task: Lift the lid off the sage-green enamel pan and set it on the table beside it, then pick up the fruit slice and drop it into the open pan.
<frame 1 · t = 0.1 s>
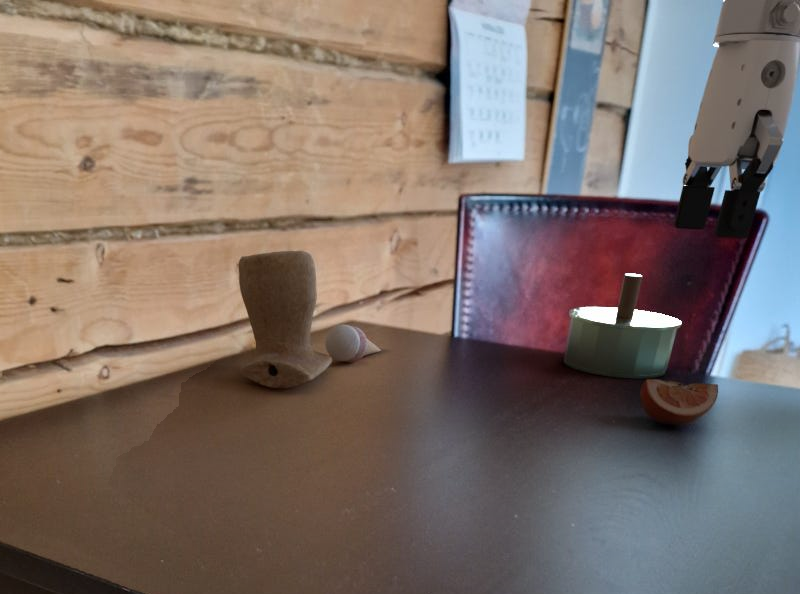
hand: (708, 232, 87), 20 cm above the table, tool pointing down, fingers open, 9 cm apart
pan: (613, 366, 125), on the table
lid: (623, 320, 122), point 6 cm above the table, touching pan
ice cream cone: (353, 360, 121), on the table
fruit slice: (671, 426, 99), on the table
brown flared upright piece: (280, 379, 109), on the table
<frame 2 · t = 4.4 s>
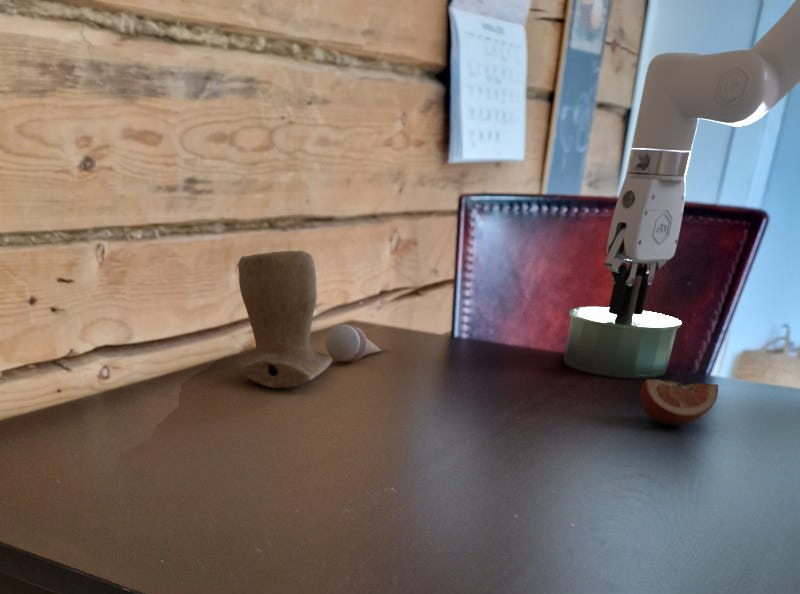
hand: (625, 313, 122), 7 cm above the table, tool pointing down, fingers closed on lid, 2 cm apart
lid: (623, 320, 122), point 7 cm above the table, touching gripper, pan
everything else where it was.
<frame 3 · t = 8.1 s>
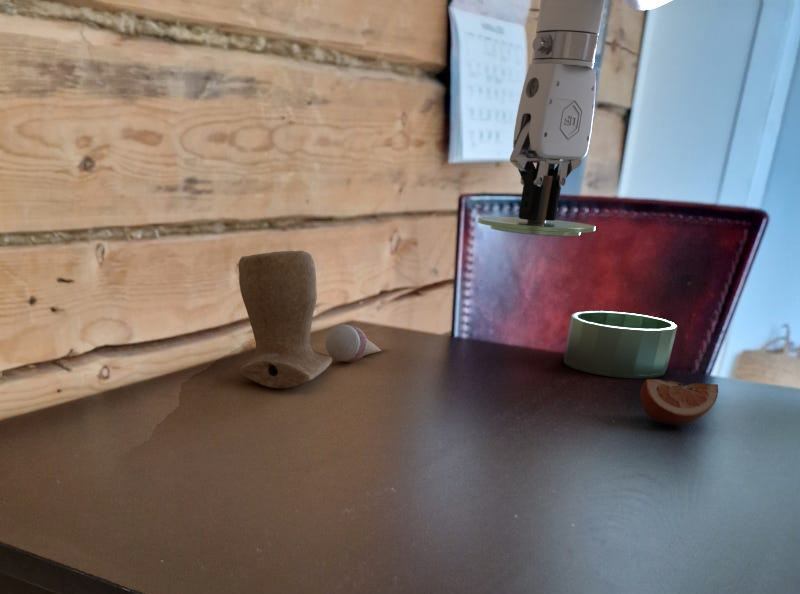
hand: (537, 218, 114), 19 cm above the table, tool pointing down, fingers closed on lid, 2 cm apart
lid: (535, 226, 115), point 18 cm above the table, touching gripper
everything else where it was.
when the fingers open (2 cm above the table, at t = 12.0 s): lid stays where it is, point 1 cm above the table.
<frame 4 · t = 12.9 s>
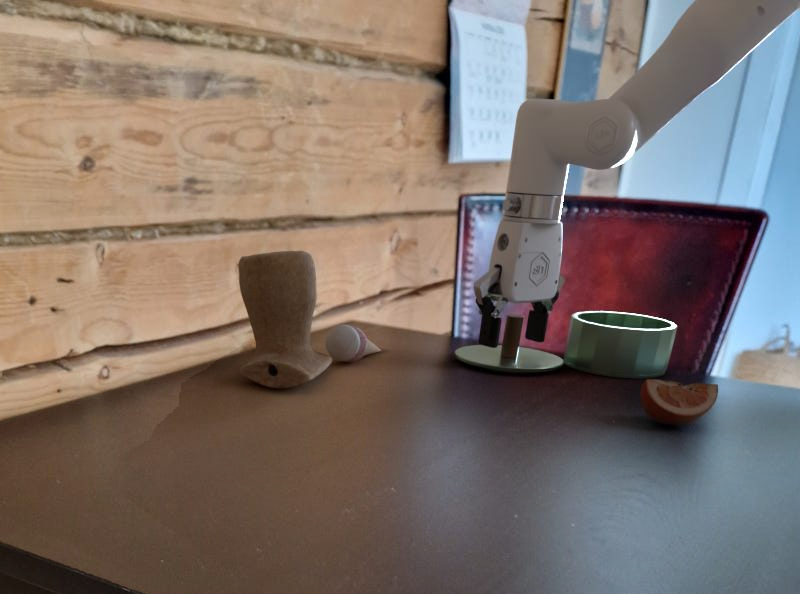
hand: (511, 343, 122), 3 cm above the table, tool pointing down, fingers open, 9 cm apart
lid: (508, 359, 123), point 1 cm above the table
everything else where it was.
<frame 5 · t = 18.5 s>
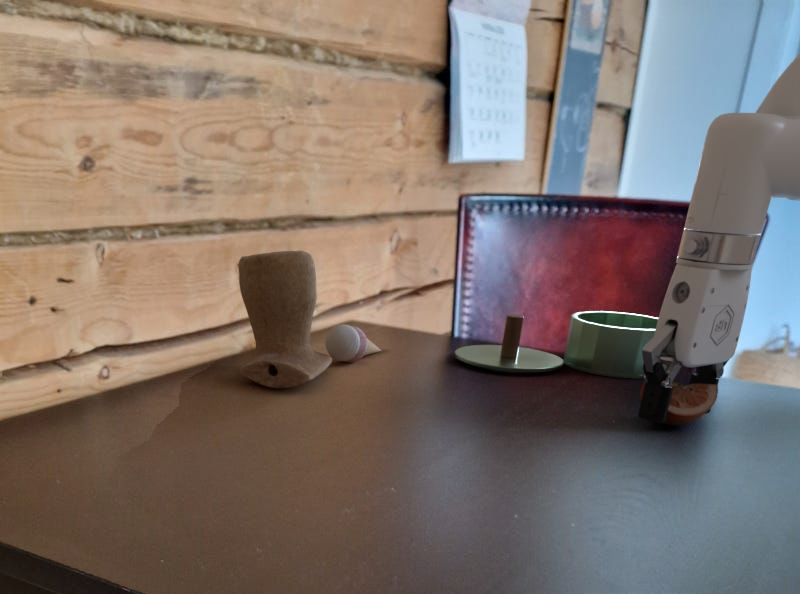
hand: (674, 415, 99), 1 cm above the table, tool pointing down, fingers closed on fruit slice, 8 cm apart
fruit slice: (670, 426, 99), on the table, touching gripper
everything else where it was.
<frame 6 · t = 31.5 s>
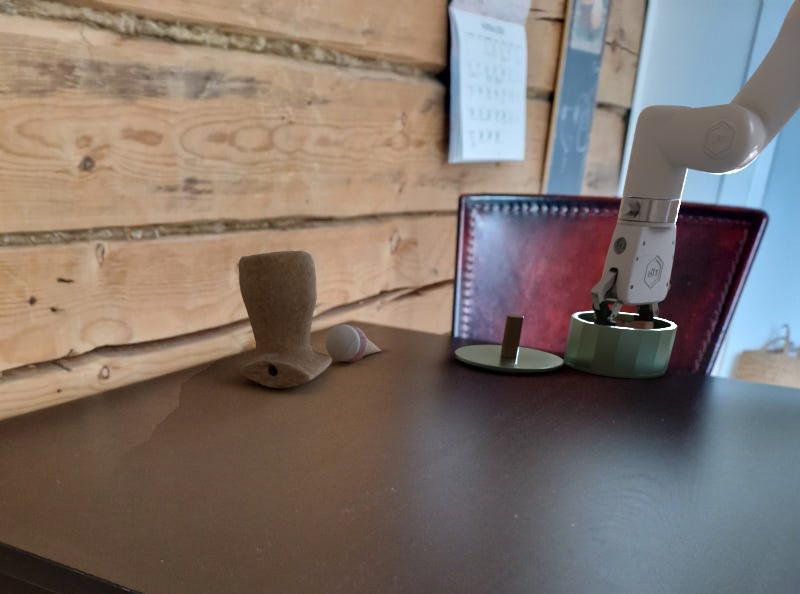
hand: (619, 346, 124), 3 cm above the table, tool pointing down, fingers closed on fruit slice, 8 cm apart
fruit slice: (617, 356, 125), point 1 cm above the table, touching gripper
everything else where it was.
when the fingers open (5 cm above the table, at t = 45.9 s): fruit slice drops 3 cm, resting on pan.
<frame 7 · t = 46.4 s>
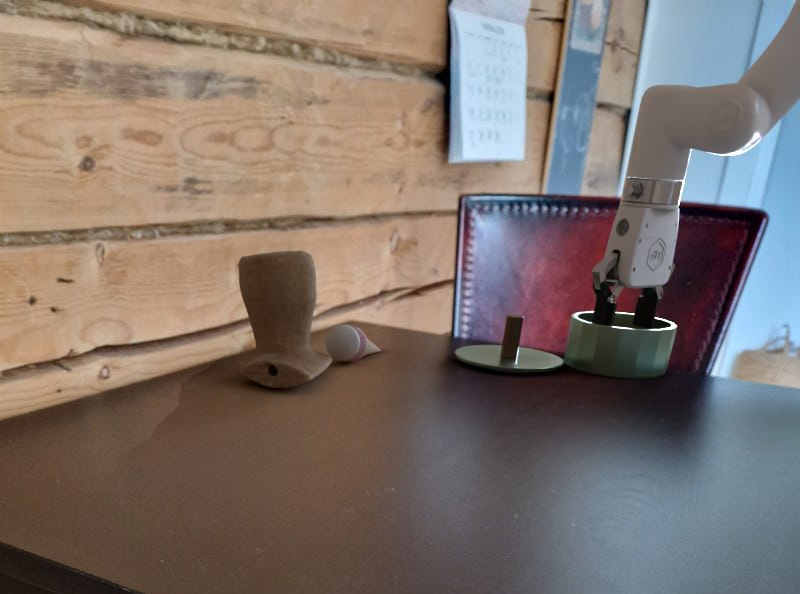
hand: (621, 328, 123), 5 cm above the table, tool pointing down, fingers open, 9 cm apart
fruit slice: (616, 364, 125), resting on pan
everything else where it was.
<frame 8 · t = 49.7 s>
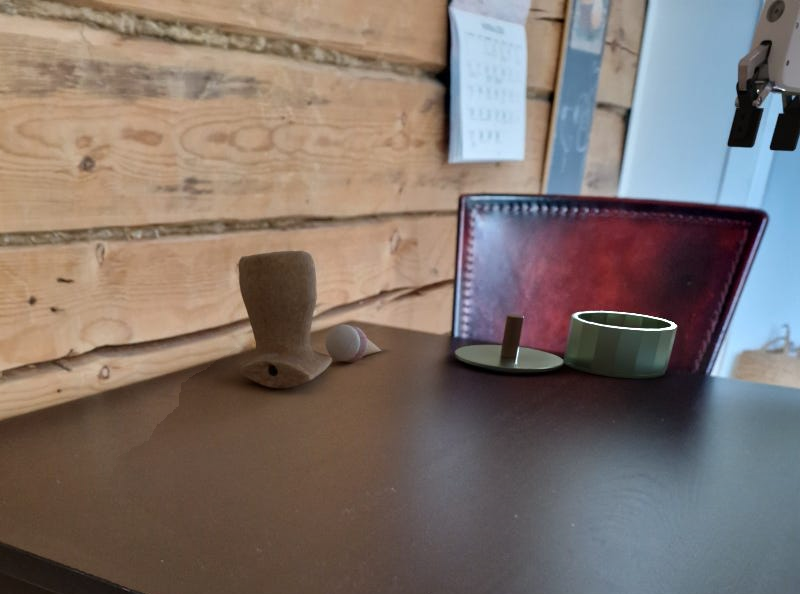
hand: (761, 148, 105), 28 cm above the table, tool pointing down, fingers open, 9 cm apart
nothing on the table moved.
at the end: fruit slice inside the target area in the pan (0.3 cm from its centre), point 0.3 cm above the pan's base; lid inside the target area (0.1 cm from its centre), point 0.6 cm above the table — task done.
